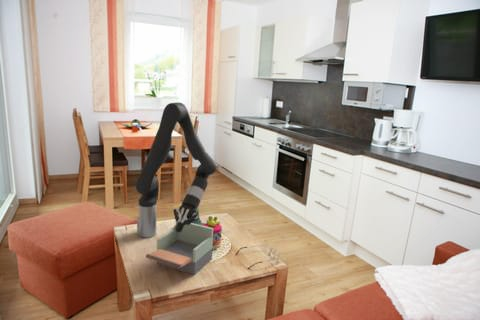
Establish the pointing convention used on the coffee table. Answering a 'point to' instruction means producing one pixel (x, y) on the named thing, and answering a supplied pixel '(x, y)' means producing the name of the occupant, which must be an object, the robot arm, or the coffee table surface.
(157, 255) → the panel
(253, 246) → the eyeglasses
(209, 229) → the truck bed
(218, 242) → the cake
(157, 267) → the coffee table surface
